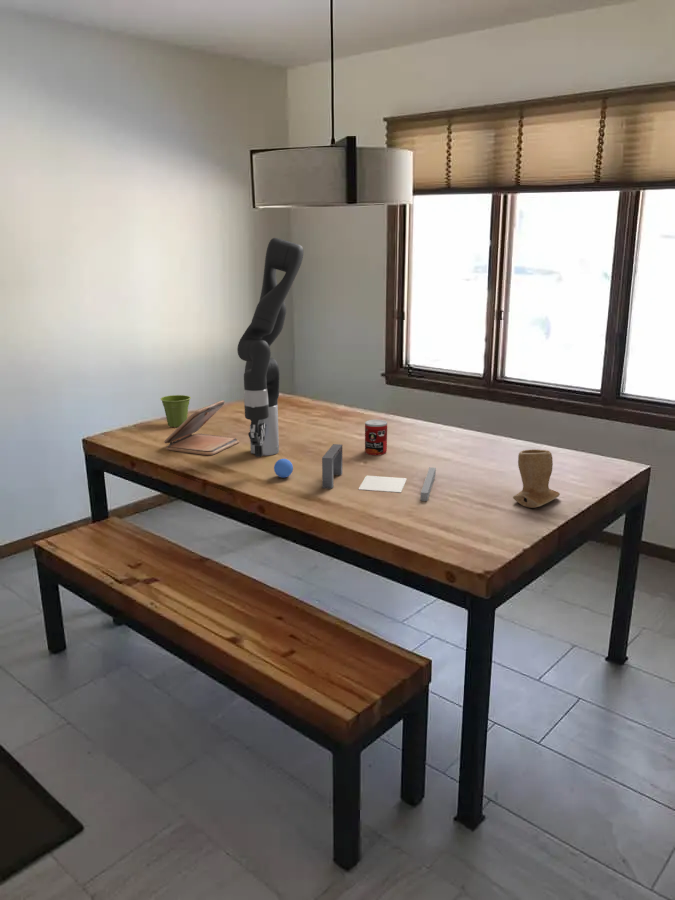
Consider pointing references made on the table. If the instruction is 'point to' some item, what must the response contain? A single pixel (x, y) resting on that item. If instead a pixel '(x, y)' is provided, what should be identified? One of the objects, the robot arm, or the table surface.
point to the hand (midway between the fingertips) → (258, 456)
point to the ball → (283, 468)
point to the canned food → (376, 437)
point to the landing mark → (383, 484)
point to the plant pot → (176, 409)
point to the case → (199, 442)
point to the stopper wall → (428, 484)
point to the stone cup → (535, 478)
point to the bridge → (331, 465)
